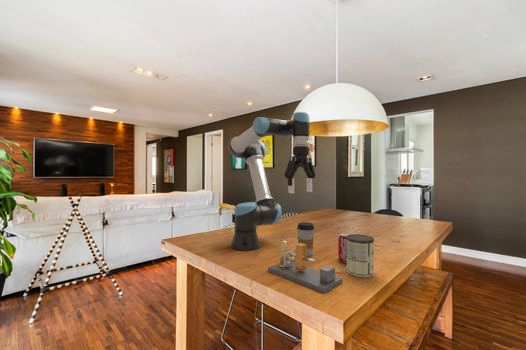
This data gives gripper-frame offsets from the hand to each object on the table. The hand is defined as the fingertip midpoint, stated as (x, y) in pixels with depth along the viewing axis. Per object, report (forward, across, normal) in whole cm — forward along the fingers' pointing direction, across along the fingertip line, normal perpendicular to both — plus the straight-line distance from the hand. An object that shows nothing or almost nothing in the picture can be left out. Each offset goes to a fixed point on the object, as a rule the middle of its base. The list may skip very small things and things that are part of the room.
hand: (300, 192), depth 116 cm
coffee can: (+31, +5, -26) cm, 41 cm away
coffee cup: (+31, +7, +2) cm, 32 cm away
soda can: (+31, +13, -16) cm, 37 cm away
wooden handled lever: (+28, -15, -12) cm, 34 cm away
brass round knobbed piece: (+29, -15, -5) cm, 33 cm away
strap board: (+31, -15, -13) cm, 37 cm away
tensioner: (+29, -15, -24) cm, 40 cm away
